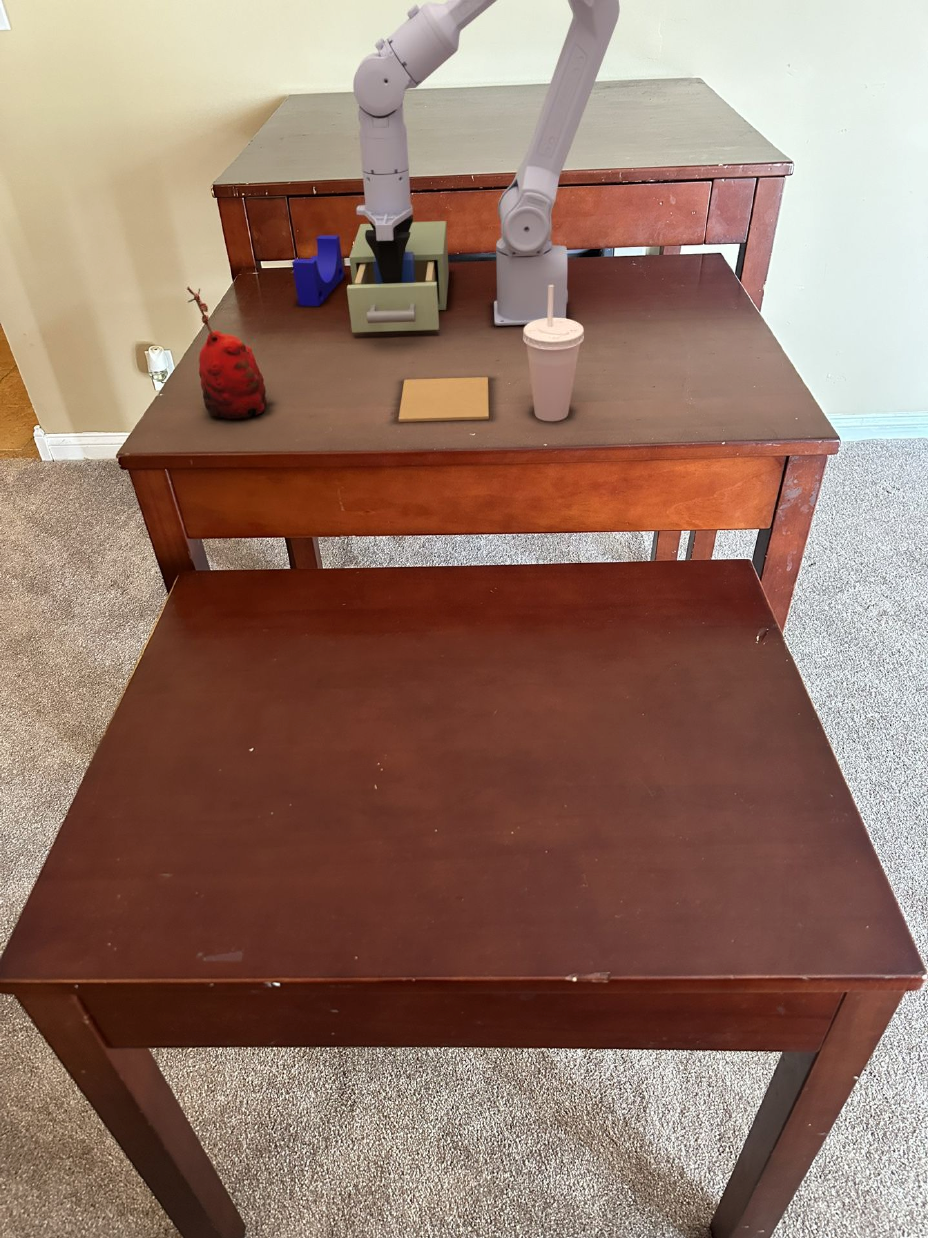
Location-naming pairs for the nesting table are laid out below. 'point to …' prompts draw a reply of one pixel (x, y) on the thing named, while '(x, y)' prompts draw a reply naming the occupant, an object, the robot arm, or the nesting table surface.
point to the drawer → (394, 301)
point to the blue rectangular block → (407, 269)
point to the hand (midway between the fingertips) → (393, 280)
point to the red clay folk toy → (229, 374)
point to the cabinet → (425, 244)
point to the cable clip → (319, 272)
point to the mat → (444, 399)
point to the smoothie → (552, 362)
